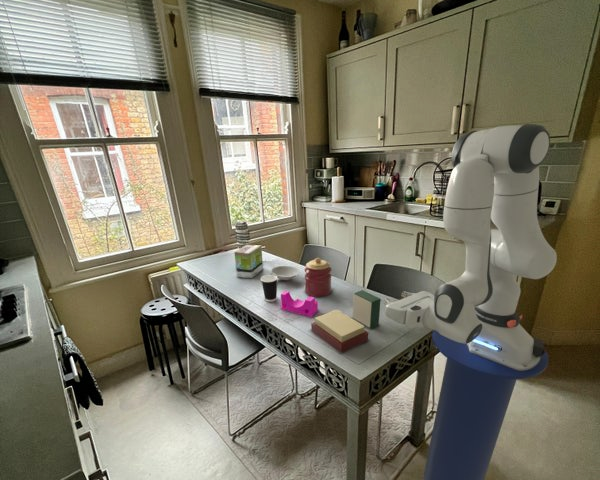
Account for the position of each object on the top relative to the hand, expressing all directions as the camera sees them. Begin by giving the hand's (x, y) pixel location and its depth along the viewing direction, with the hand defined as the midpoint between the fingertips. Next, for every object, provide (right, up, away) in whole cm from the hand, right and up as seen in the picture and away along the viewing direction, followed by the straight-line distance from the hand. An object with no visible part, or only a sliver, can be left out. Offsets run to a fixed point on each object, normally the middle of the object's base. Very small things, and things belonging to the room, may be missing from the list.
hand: (393, 297), depth 112 cm
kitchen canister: (-24, +1, +45) cm, 51 cm away
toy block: (-33, -7, +29) cm, 44 cm away
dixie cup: (-47, -2, +39) cm, 61 cm away
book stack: (-18, -15, +9) cm, 25 cm away
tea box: (-62, +12, +71) cm, 95 cm away
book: (-6, -11, +17) cm, 21 cm away
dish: (-41, +8, +60) cm, 73 cm away
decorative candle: (-68, +21, +91) cm, 115 cm away
